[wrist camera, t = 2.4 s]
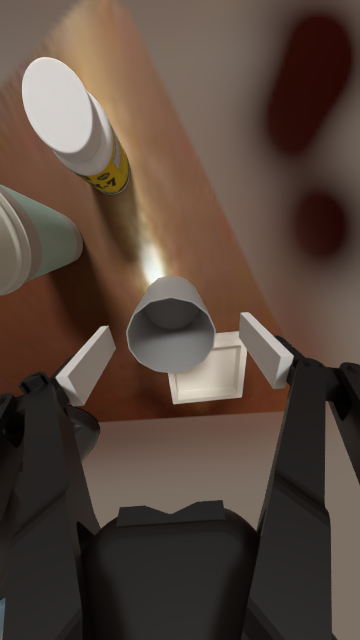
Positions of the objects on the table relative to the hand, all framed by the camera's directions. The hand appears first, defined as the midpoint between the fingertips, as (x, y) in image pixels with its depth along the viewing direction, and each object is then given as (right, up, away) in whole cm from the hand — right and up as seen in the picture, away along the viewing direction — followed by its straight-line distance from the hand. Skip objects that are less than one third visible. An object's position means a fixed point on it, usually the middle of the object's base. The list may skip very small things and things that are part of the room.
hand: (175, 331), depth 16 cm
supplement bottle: (-7, +17, +1) cm, 19 cm away
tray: (+5, -7, +13) cm, 16 cm away
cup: (-1, +4, +8) cm, 9 cm away
